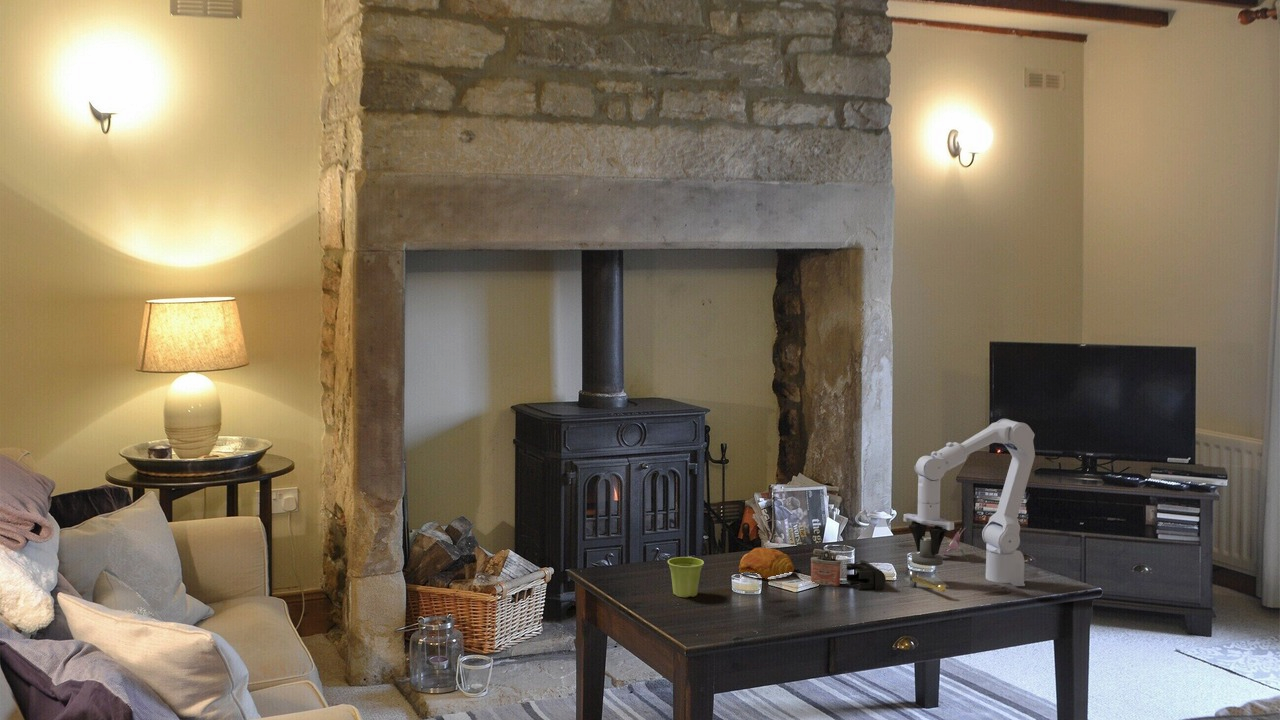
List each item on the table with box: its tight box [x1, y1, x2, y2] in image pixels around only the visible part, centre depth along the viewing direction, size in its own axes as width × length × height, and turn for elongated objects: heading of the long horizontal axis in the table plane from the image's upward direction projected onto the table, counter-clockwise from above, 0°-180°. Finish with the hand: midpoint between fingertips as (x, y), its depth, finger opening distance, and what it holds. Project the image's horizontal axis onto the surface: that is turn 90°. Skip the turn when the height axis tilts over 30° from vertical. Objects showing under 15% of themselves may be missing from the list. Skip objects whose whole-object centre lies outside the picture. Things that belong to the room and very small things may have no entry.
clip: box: [909, 570, 947, 593], centre depth 289 cm, size 13×2×4 cm, turn 24°
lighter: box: [810, 548, 842, 587], centre depth 297 cm, size 8×3×10 cm, turn 65°
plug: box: [911, 536, 944, 567], centre depth 297 cm, size 8×8×7 cm
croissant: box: [738, 547, 795, 580], centre depth 311 cm, size 14×16×8 cm
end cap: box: [846, 559, 887, 591], centre depth 295 cm, size 10×7×7 cm
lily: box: [939, 526, 969, 561], centre depth 328 cm, size 12×12×10 cm
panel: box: [903, 576, 950, 589], centre depth 297 cm, size 16×13×1 cm
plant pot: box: [667, 556, 705, 598], centre depth 289 cm, size 9×9×9 cm
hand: (927, 552), depth 298 cm, fingers closed on plug, 4 cm apart
